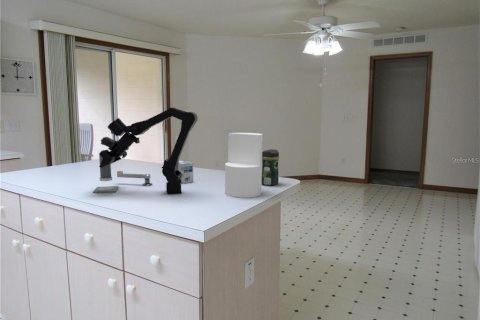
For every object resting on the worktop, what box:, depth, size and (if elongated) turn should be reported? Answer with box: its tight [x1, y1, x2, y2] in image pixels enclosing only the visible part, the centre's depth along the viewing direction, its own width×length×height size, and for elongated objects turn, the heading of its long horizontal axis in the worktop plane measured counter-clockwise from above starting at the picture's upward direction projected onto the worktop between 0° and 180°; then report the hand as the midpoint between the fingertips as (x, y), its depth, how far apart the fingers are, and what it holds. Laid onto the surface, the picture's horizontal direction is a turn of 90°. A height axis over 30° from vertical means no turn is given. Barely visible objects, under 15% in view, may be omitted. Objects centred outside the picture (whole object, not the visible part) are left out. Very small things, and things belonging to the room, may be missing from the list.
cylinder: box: [224, 132, 264, 198], centre depth 162 cm, size 17×17×28 cm
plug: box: [98, 154, 113, 182], centre depth 164 cm, size 6×6×13 cm
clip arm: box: [116, 170, 151, 180], centre depth 178 cm, size 18×3×3 cm, turn 82°
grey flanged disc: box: [142, 178, 153, 187], centre depth 178 cm, size 5×5×3 cm
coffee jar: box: [261, 148, 280, 187], centre depth 182 cm, size 10×8×19 cm
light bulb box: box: [178, 160, 194, 184], centre depth 187 cm, size 11×7×11 cm, turn 47°
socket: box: [92, 185, 120, 194], centre depth 166 cm, size 10×10×1 cm
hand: (102, 166), depth 164 cm, fingers closed on plug, 5 cm apart
